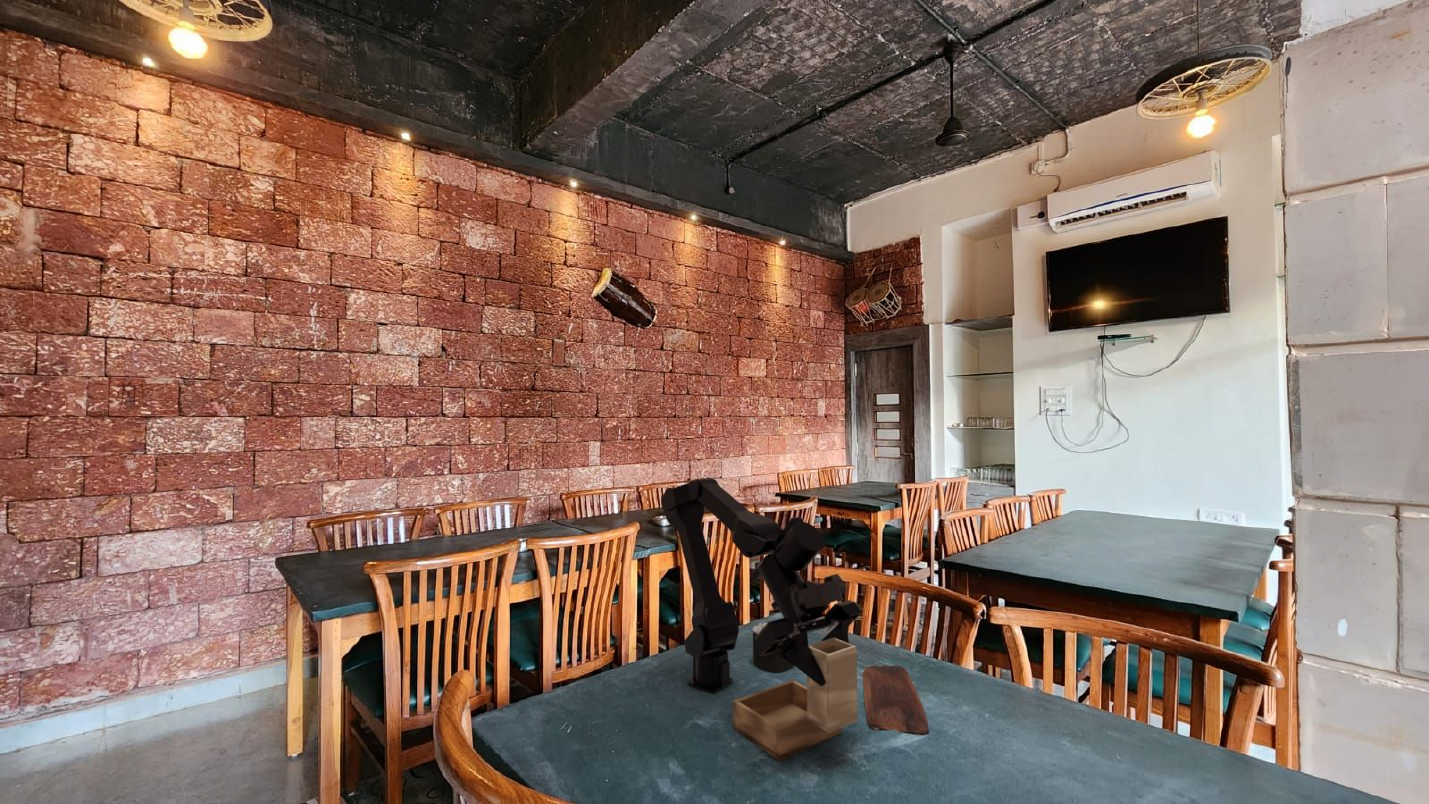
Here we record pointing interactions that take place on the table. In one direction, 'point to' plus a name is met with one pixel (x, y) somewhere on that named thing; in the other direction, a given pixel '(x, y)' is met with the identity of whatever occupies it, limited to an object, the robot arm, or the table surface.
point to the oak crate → (778, 720)
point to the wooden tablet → (893, 701)
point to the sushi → (768, 657)
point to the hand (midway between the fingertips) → (838, 679)
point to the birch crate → (833, 686)
